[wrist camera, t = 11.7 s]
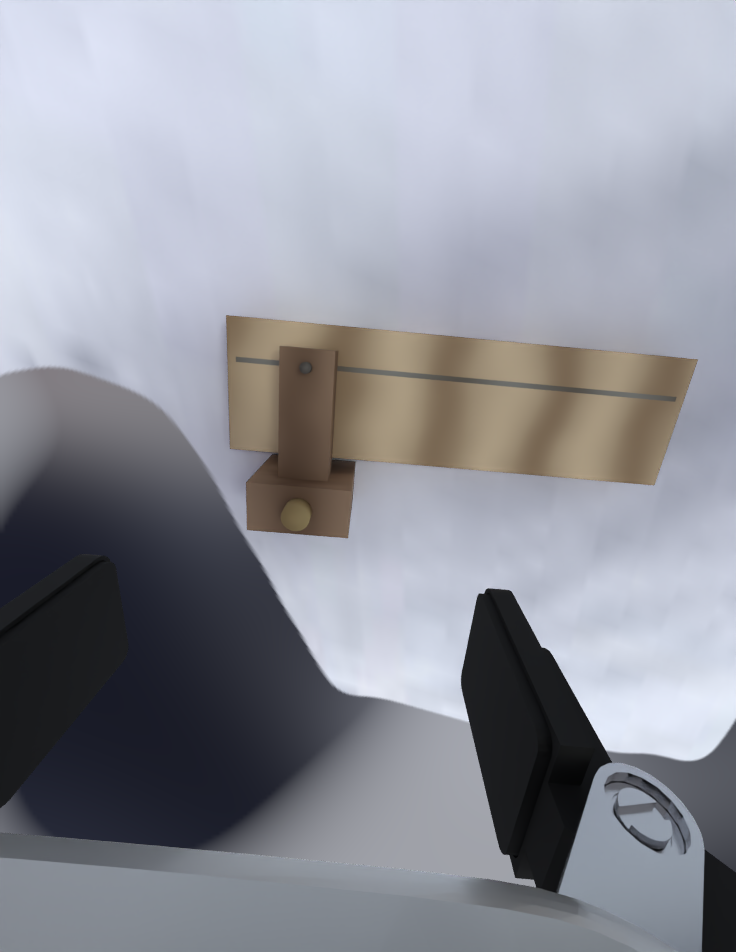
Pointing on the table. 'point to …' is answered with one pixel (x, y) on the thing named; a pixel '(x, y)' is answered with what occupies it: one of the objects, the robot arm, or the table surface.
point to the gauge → (303, 454)
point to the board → (467, 400)
